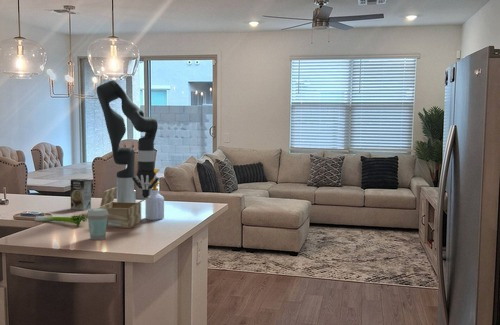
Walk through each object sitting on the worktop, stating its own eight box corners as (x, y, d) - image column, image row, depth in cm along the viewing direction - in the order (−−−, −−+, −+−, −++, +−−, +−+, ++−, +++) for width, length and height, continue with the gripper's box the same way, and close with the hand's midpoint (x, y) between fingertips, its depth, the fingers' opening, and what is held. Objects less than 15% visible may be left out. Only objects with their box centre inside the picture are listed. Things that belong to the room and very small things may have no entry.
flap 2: (139, 201, 242) (152, 195, 242) (140, 202, 242) (152, 195, 242) (129, 207, 227) (142, 200, 227) (129, 208, 227) (142, 200, 227)
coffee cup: (89, 236, 212) (89, 207, 211) (110, 236, 213) (110, 207, 212) (84, 241, 203) (84, 211, 202) (106, 240, 204) (106, 211, 203)
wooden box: (113, 220, 246) (112, 201, 245) (141, 221, 244) (140, 202, 243) (99, 227, 229) (99, 207, 228) (129, 228, 227) (129, 208, 227)
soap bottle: (167, 217, 254) (167, 168, 252) (158, 220, 246) (158, 170, 244) (151, 216, 257) (151, 168, 255) (142, 219, 249) (142, 169, 247)
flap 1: (112, 200, 244) (116, 187, 243) (113, 201, 244) (116, 187, 243) (100, 206, 229) (103, 191, 228) (100, 206, 229) (104, 191, 228)
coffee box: (70, 209, 272) (69, 179, 271) (78, 207, 278) (78, 178, 277) (83, 210, 269) (83, 180, 268) (91, 208, 275) (91, 179, 274)
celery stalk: (44, 223, 246) (91, 224, 233) (32, 227, 239) (80, 229, 226) (41, 211, 245) (88, 212, 232) (30, 215, 238) (77, 216, 225)
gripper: (129, 160, 230) (129, 198, 231) (157, 161, 228) (157, 199, 230) (134, 159, 237) (134, 195, 238) (162, 160, 236) (162, 196, 237)
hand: (145, 197), depth 234 cm, fingers closed
